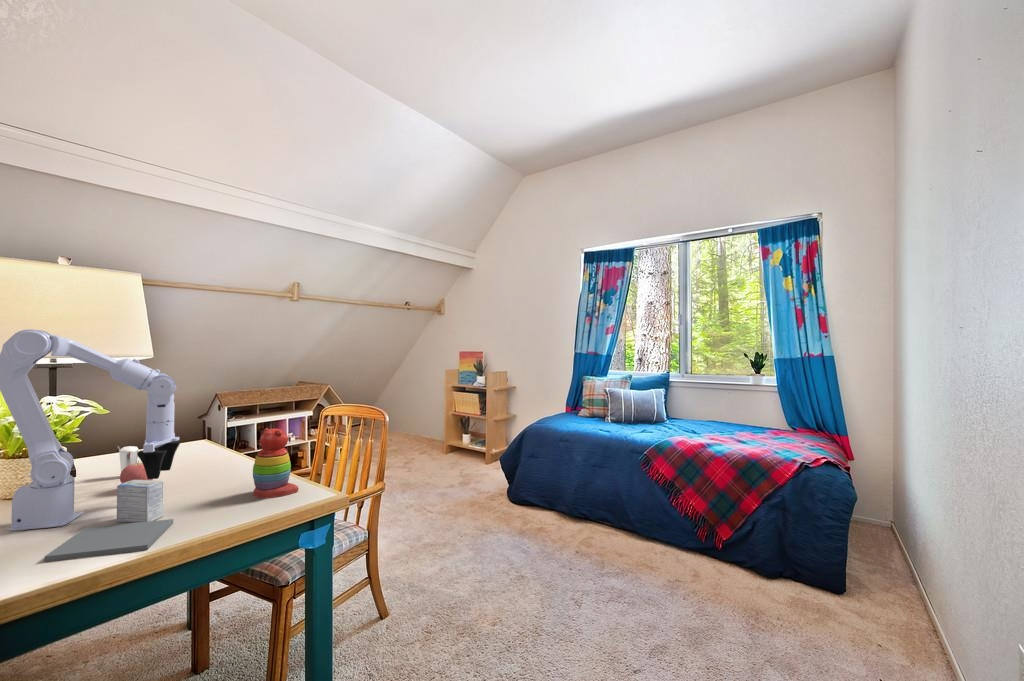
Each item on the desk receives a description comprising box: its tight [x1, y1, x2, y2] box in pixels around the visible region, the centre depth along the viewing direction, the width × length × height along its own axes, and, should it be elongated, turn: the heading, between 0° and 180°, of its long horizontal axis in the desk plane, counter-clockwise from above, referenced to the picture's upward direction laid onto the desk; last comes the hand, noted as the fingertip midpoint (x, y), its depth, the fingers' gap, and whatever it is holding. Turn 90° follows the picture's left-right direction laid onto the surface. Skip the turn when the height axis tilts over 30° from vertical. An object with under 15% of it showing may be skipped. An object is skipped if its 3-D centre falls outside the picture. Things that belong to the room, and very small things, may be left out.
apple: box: [119, 460, 154, 484], centre depth 127 cm, size 7×7×8 cm
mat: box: [43, 518, 174, 563], centre depth 94 cm, size 16×14×1 cm
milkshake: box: [117, 445, 140, 473], centre depth 138 cm, size 4×5×10 cm
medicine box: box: [116, 479, 164, 523], centre depth 106 cm, size 8×4×9 cm, turn 84°
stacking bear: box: [252, 427, 300, 499], centre depth 126 cm, size 11×10×18 cm
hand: (159, 474), depth 116 cm, fingers open, 7 cm apart
